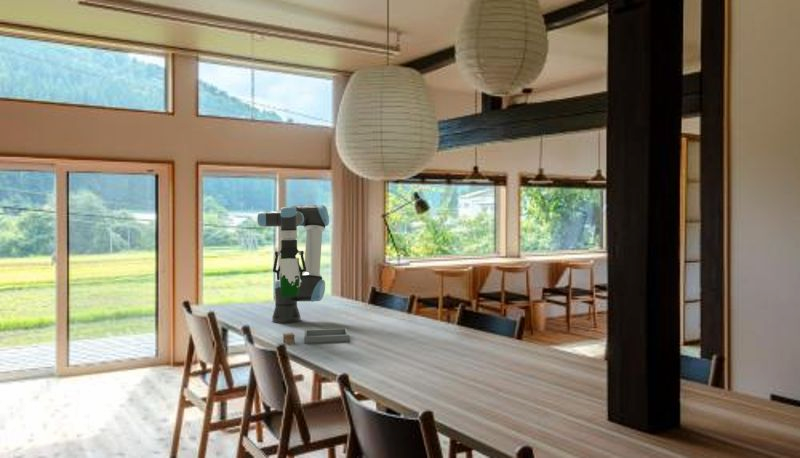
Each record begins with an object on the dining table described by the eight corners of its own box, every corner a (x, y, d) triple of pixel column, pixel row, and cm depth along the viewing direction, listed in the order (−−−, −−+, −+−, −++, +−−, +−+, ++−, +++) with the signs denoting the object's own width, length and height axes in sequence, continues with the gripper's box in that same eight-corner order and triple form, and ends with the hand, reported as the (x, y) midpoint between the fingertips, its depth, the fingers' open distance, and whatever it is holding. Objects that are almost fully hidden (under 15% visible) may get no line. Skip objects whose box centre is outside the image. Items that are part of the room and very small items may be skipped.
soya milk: (282, 294, 298) (282, 253, 297) (301, 294, 298) (300, 253, 297) (278, 296, 289) (278, 254, 289) (297, 296, 289) (297, 254, 288)
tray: (304, 336, 290) (304, 330, 290) (346, 334, 293) (346, 328, 293) (304, 343, 274) (304, 337, 274) (349, 341, 277) (349, 335, 277)
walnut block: (283, 342, 278) (283, 333, 277) (291, 341, 279) (291, 332, 279) (286, 344, 274) (285, 335, 274) (294, 343, 276) (294, 334, 276)
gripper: (265, 240, 288) (266, 288, 288) (311, 239, 290) (312, 286, 291) (267, 239, 295) (268, 286, 296) (311, 238, 298) (312, 284, 299)
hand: (289, 286), depth 293 cm, fingers closed on soya milk, 8 cm apart
